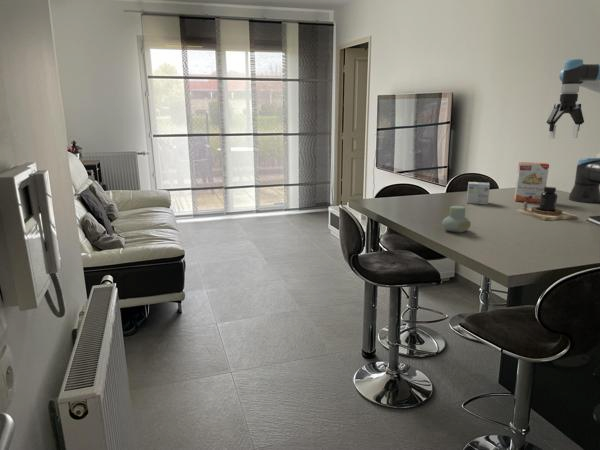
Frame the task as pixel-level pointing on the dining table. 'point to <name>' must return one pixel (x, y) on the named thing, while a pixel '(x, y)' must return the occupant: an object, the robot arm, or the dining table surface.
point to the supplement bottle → (548, 199)
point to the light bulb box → (478, 193)
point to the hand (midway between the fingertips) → (563, 138)
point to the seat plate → (547, 217)
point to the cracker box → (531, 181)
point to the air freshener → (456, 220)
